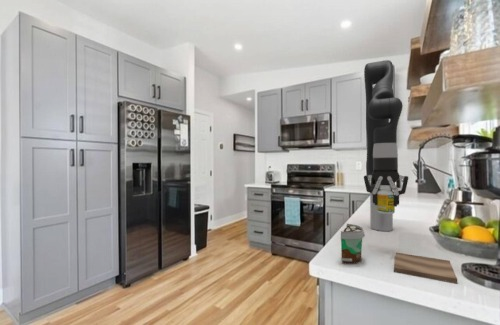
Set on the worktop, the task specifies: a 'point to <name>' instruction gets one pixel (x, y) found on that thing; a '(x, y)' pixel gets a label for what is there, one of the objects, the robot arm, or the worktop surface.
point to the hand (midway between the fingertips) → (385, 205)
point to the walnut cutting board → (424, 267)
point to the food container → (351, 244)
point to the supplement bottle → (385, 200)
